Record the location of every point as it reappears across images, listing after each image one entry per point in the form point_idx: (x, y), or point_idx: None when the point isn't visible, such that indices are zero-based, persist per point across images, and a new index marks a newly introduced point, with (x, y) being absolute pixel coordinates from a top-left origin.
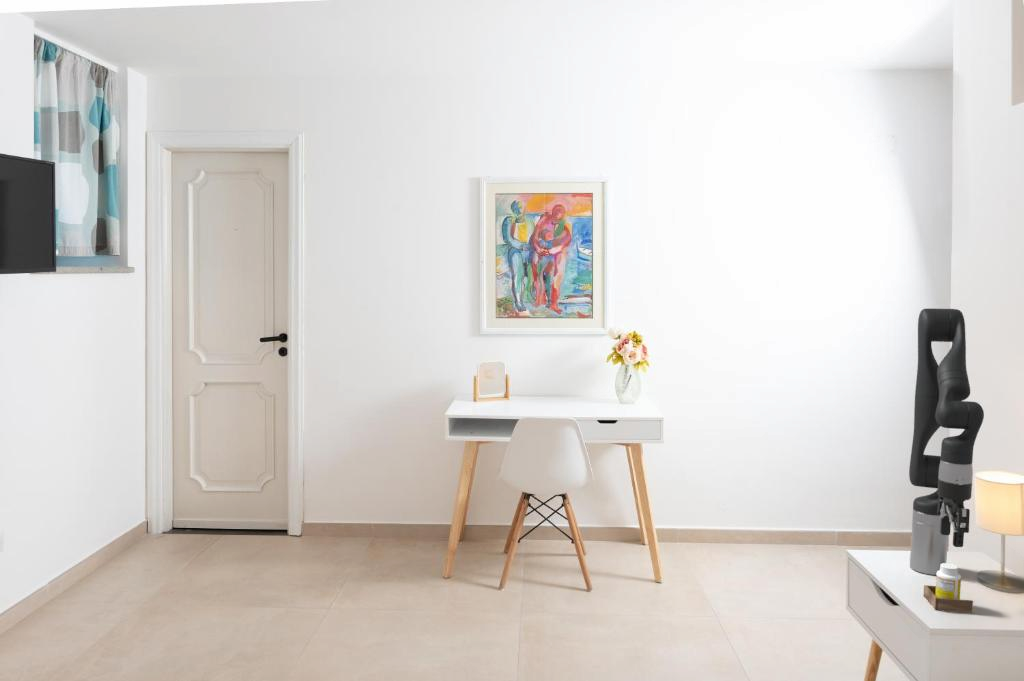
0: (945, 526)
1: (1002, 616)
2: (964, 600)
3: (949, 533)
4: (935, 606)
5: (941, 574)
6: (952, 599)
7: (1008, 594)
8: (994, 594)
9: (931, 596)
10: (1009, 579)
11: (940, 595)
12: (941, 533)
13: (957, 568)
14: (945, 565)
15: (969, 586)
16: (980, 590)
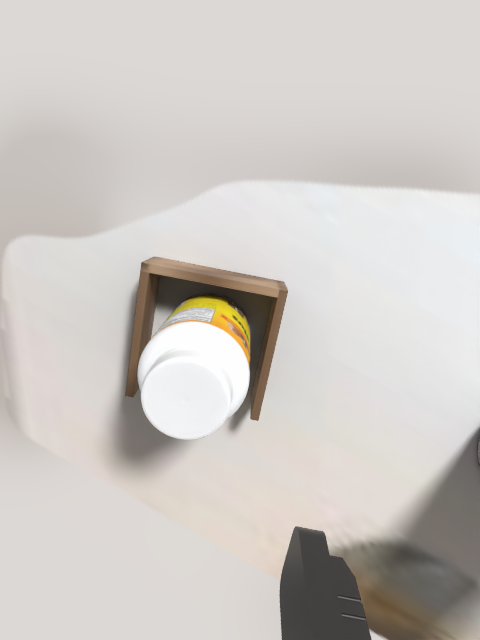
0: (294, 638)
1: (118, 454)
2: (130, 368)
3: (282, 595)
4: (152, 258)
5: (174, 335)
6: (135, 326)
7: None
8: None
9: (195, 270)
10: (408, 636)
11: (185, 304)
12: (297, 532)
13: (154, 425)
14: (189, 382)
15: (364, 494)
16: (328, 508)
